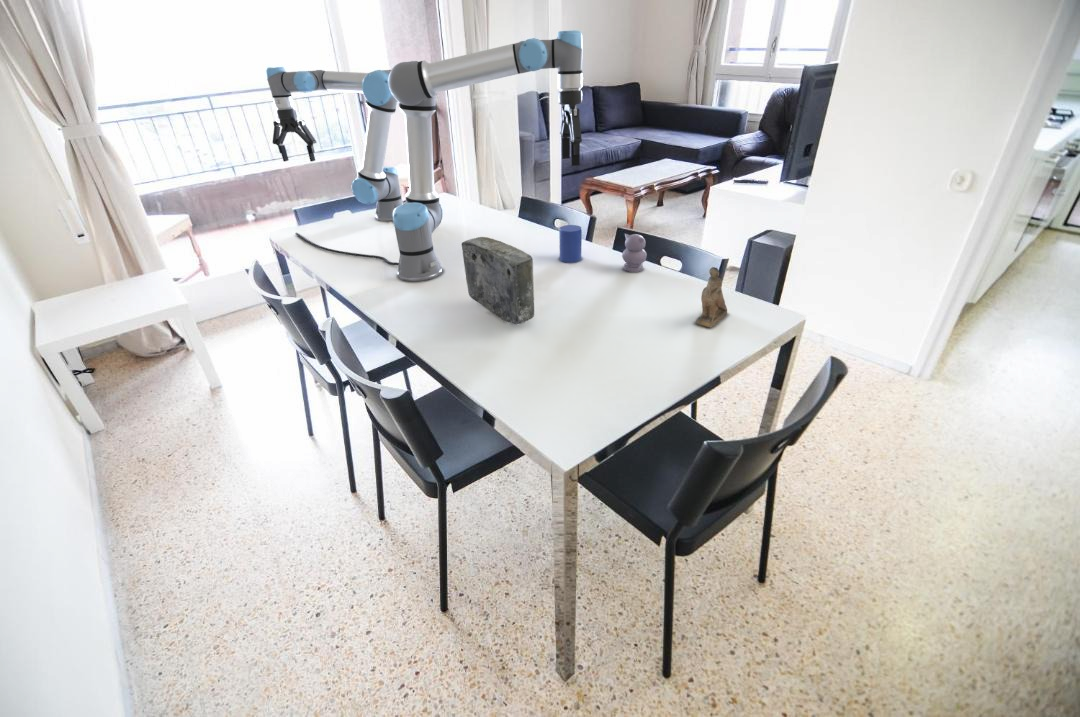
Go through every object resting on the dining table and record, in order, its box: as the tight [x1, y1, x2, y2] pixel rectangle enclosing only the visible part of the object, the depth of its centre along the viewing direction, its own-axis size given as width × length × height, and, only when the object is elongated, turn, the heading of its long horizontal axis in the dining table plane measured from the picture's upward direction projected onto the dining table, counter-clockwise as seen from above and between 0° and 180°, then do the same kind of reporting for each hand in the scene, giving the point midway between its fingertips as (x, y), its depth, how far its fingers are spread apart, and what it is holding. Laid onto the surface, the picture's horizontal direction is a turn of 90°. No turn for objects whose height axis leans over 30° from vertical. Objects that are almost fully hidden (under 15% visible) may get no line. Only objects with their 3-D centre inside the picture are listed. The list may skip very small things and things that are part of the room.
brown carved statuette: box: [695, 266, 728, 328], centre depth 135 cm, size 12×6×18 cm, turn 136°
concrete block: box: [461, 236, 535, 325], centre depth 141 cm, size 27×9×20 cm, turn 36°
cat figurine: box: [621, 233, 648, 273], centre depth 170 cm, size 8×8×12 cm
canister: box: [558, 224, 583, 264], centre depth 181 cm, size 8×8×12 cm
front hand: (570, 161), depth 166 cm, fingers open, 13 cm apart
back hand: (299, 161), depth 224 cm, fingers open, 13 cm apart
